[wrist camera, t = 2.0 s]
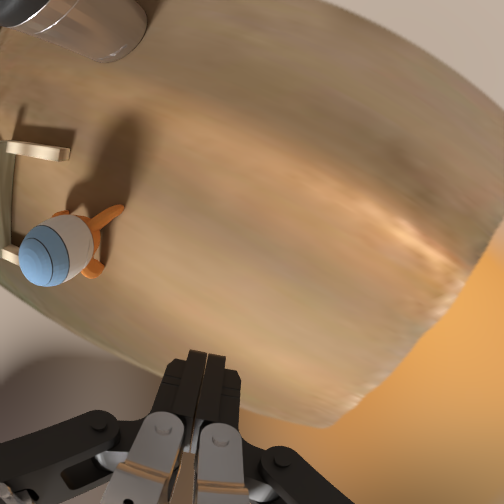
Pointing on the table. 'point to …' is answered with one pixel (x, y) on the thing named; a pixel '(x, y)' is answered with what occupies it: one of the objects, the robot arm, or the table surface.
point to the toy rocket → (64, 247)
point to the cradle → (3, 161)
